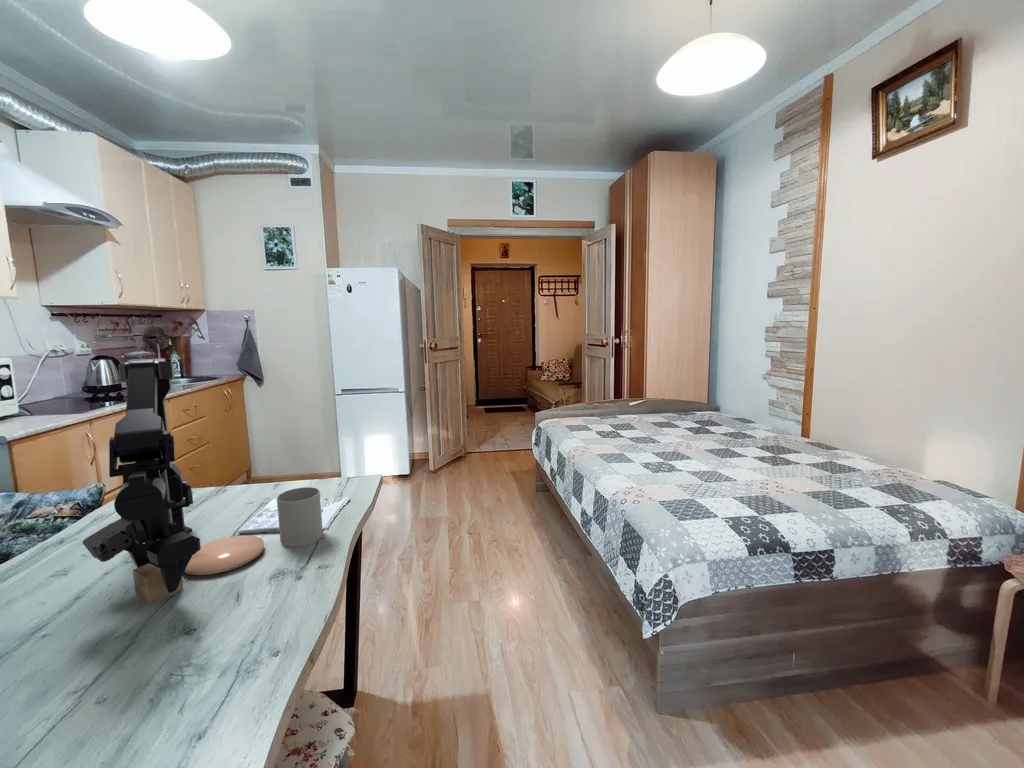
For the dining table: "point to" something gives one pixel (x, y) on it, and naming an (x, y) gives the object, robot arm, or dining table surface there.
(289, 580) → the dining table surface
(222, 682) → the dining table surface
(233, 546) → the salmon pink disc
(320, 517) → the cup
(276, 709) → the dining table surface
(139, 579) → the walnut block
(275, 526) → the patterned cloth
